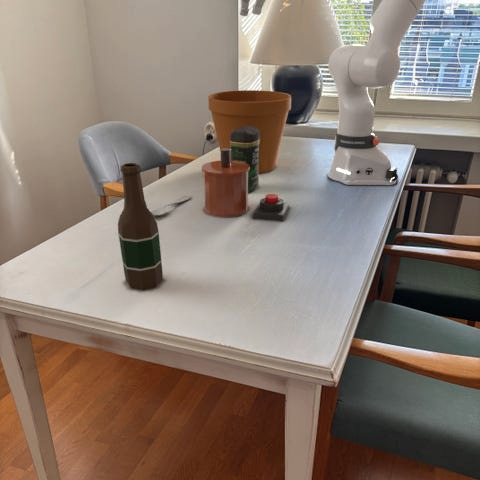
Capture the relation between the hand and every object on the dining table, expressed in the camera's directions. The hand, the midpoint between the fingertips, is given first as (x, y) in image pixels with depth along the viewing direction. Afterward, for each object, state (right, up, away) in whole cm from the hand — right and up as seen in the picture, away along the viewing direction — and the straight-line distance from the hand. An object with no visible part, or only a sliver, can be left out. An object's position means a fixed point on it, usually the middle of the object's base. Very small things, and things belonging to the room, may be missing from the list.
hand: (249, 15), depth 121 cm
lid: (-6, -35, +10) cm, 37 cm away
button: (+6, -44, +13) cm, 46 cm away
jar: (-6, -45, +17) cm, 48 cm away
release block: (+6, -46, +14) cm, 49 cm away
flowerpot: (+1, -21, +55) cm, 59 cm away
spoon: (-22, -44, +18) cm, 53 cm away
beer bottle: (-22, -68, -20) cm, 75 cm away
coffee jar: (-1, -35, +33) cm, 48 cm away
